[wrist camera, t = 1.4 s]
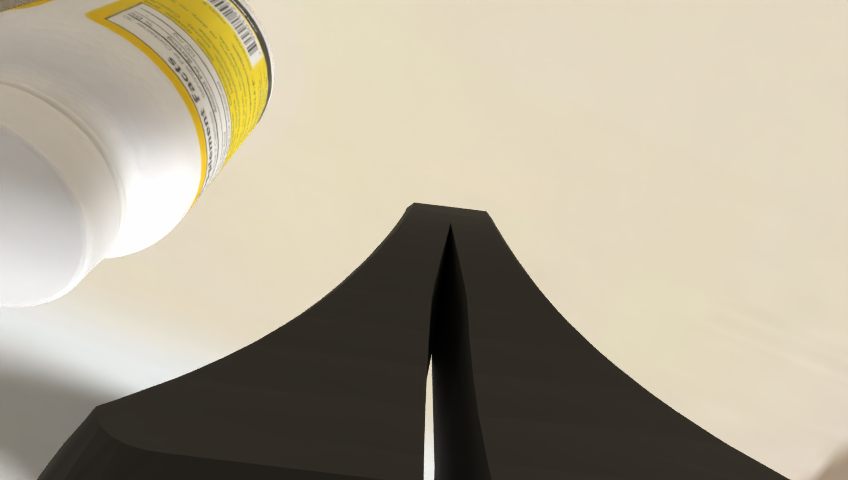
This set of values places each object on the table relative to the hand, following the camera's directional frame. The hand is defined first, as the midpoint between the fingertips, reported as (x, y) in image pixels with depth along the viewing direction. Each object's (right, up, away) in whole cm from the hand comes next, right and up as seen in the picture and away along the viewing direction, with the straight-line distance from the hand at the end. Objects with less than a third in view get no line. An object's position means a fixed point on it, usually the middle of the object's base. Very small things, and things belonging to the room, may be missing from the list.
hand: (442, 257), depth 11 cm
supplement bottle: (-7, +6, +8) cm, 12 cm away
